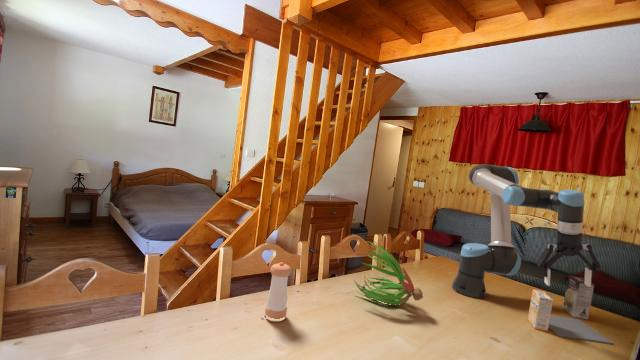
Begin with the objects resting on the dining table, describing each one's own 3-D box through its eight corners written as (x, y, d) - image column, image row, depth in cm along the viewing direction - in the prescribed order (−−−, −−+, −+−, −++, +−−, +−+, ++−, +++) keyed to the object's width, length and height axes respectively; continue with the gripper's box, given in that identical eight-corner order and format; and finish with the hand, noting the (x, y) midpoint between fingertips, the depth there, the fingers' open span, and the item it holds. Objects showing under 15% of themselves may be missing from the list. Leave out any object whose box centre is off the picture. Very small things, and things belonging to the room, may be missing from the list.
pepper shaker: (289, 316, 113) (296, 262, 112) (278, 324, 106) (285, 267, 105) (272, 309, 116) (278, 257, 115) (260, 317, 109) (266, 262, 108)
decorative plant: (415, 337, 120) (338, 311, 130) (422, 299, 142) (356, 280, 153) (427, 275, 113) (345, 253, 123) (432, 246, 135) (363, 229, 146)
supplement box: (526, 319, 135) (531, 288, 134) (540, 322, 133) (545, 291, 132) (534, 329, 127) (539, 296, 126) (548, 332, 125) (553, 299, 124)
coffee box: (561, 307, 152) (567, 274, 151) (576, 310, 151) (583, 277, 150) (572, 316, 144) (578, 281, 142) (589, 319, 142) (595, 284, 141)
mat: (558, 336, 123) (558, 334, 123) (530, 313, 141) (530, 312, 141) (613, 344, 122) (613, 342, 122) (578, 320, 140) (578, 319, 140)
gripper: (536, 235, 120) (535, 288, 124) (615, 234, 115) (611, 290, 118) (528, 228, 128) (526, 279, 131) (602, 228, 122) (598, 280, 126)
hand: (567, 284), depth 125 cm, fingers open, 13 cm apart
